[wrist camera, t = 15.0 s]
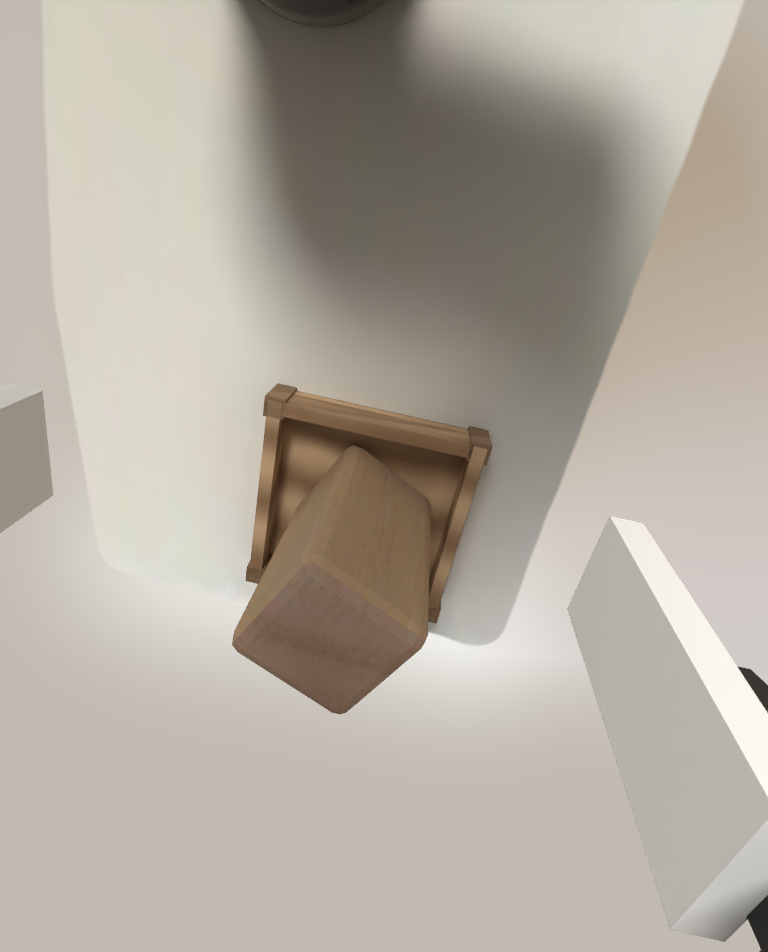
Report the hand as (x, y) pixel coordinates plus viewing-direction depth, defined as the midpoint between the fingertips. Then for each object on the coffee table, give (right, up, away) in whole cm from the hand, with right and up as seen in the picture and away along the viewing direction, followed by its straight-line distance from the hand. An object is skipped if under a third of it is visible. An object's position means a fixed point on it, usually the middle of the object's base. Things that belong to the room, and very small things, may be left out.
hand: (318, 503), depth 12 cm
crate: (-1, -2, +41) cm, 41 cm away
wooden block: (0, -2, +40) cm, 40 cm away
